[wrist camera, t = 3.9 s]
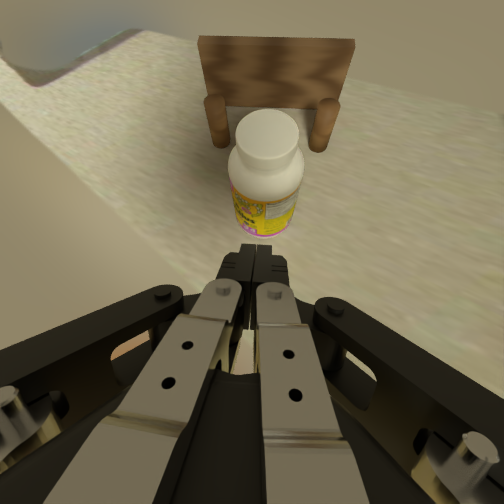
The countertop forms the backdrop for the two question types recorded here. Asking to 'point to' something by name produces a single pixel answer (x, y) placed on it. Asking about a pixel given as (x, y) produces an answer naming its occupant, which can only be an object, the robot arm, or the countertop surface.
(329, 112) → the dowel gate
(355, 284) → the countertop surface
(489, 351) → the countertop surface
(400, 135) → the countertop surface
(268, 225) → the supplement bottle
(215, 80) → the walnut rail
